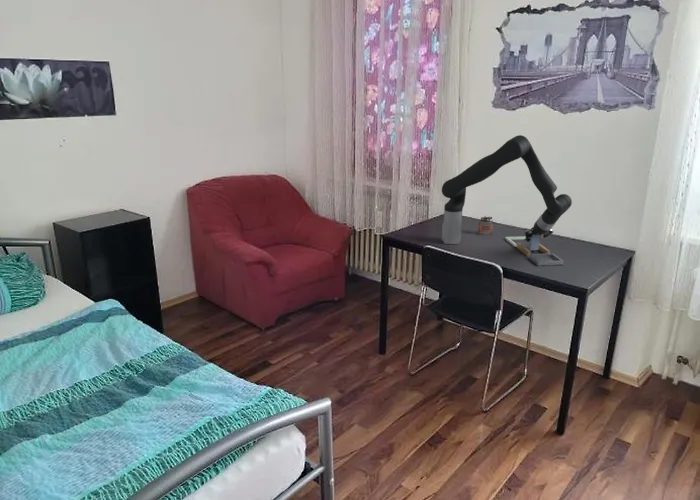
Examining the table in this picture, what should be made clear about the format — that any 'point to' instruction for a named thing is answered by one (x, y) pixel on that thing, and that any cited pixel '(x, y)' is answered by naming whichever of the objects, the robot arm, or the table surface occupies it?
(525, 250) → the rail channel
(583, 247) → the table surface
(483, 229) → the lighter
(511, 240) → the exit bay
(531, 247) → the block
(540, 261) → the tray
